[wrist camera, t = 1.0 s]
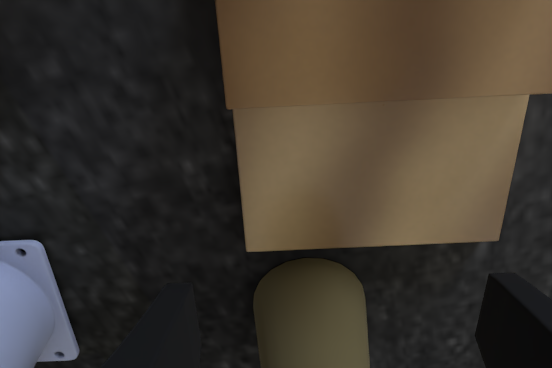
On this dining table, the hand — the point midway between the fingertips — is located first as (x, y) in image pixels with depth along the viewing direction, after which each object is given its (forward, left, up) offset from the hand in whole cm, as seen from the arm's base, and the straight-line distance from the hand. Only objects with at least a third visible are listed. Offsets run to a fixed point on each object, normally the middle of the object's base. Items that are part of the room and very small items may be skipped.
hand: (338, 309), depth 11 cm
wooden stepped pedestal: (+3, +3, -10) cm, 11 cm away
